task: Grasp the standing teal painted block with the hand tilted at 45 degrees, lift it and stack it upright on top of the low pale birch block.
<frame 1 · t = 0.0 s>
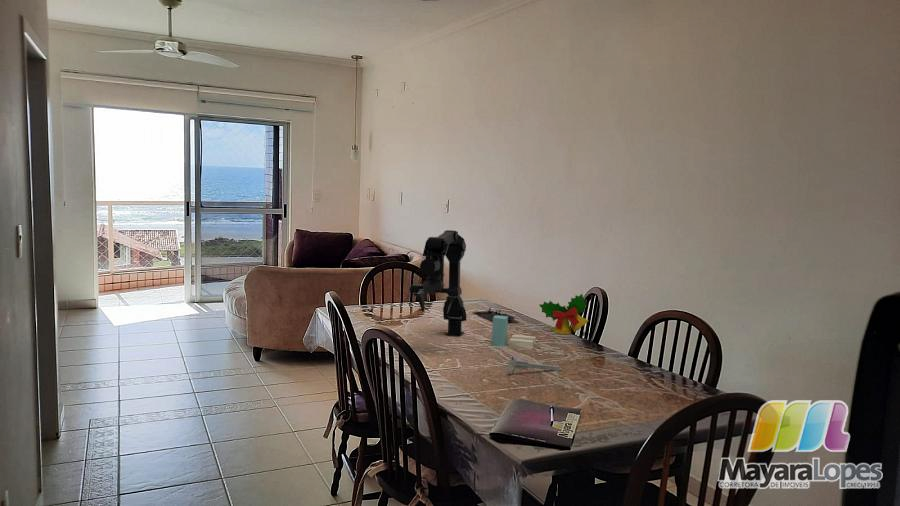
hand: (434, 312, 234), 15 cm above the table, tool pointing down, fingers open, 9 cm apart
birch block: (522, 347, 247), on the table
caliper: (535, 373, 214), on the table
circuit board: (497, 319, 298), on the table
teal block: (499, 344, 249), on the table
ornament: (561, 332, 273), on the table
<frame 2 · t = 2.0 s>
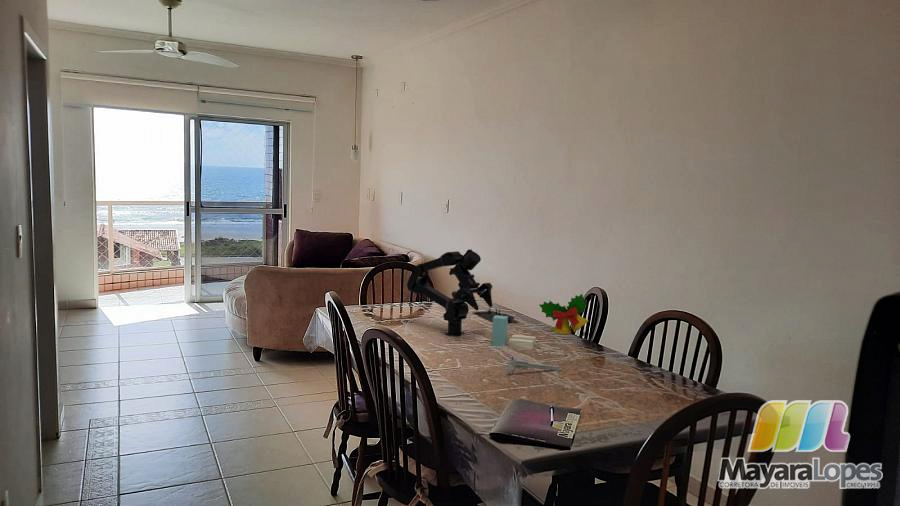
hand: (484, 308, 252), 13 cm above the table, tool tilted 45°, fingers open, 9 cm apart
nothing on the table moved.
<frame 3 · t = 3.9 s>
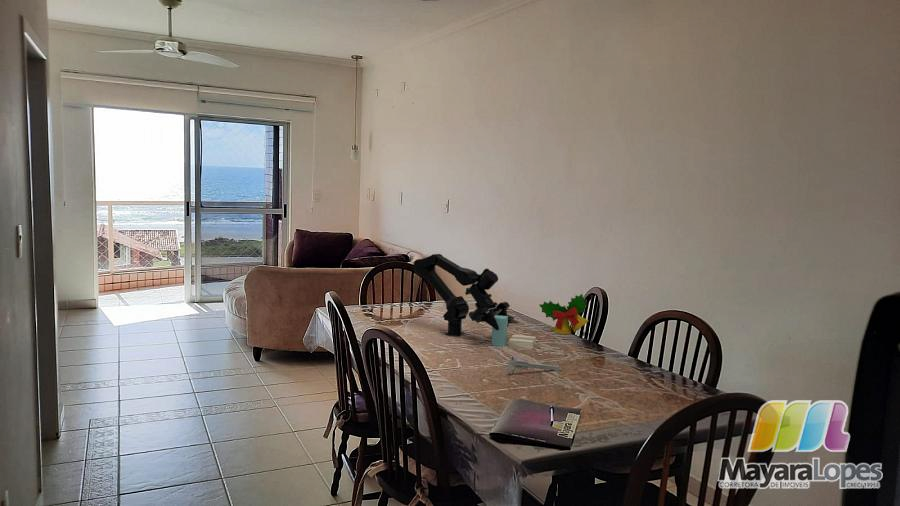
hand: (503, 328, 247), 7 cm above the table, tool tilted 45°, fingers closed on teal block, 6 cm apart
teal block: (499, 344, 249), on the table, touching gripper
everything else where it was.
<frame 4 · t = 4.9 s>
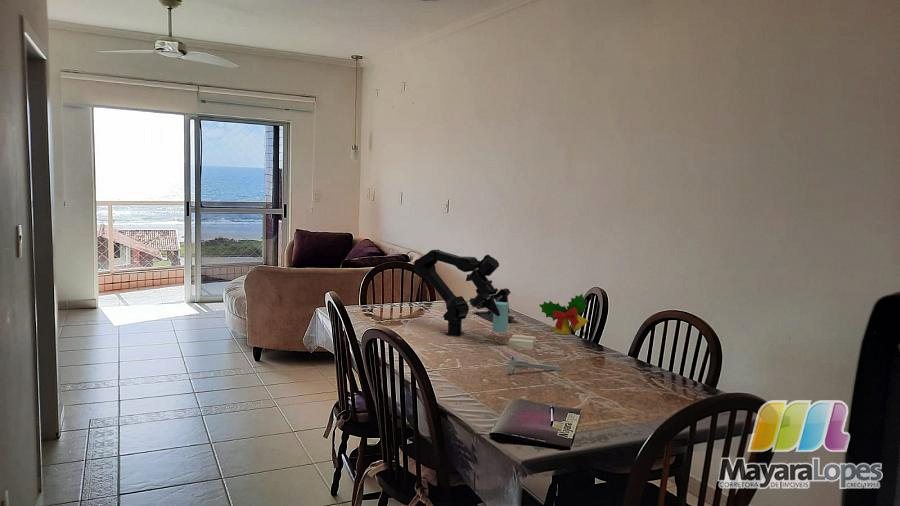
hand: (503, 314, 246), 12 cm above the table, tool tilted 45°, fingers closed on teal block, 6 cm apart
teal block: (500, 330, 248), point 6 cm above the table, touching gripper
everything else where it was.
when the fingers open (11 cm above the table, at t = 7.1 s): teal block drops 1 cm, resting on birch block.
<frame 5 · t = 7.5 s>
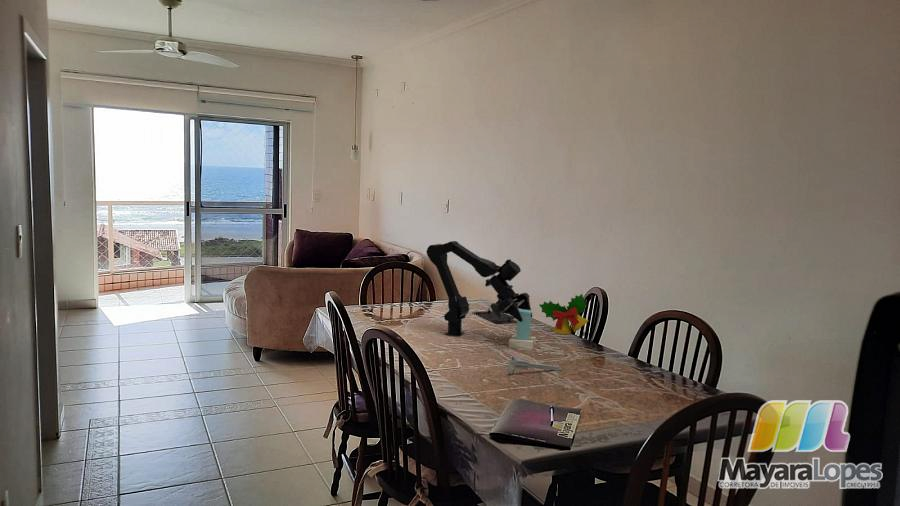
hand: (526, 319, 245), 11 cm above the table, tool tilted 45°, fingers open, 9 cm apart
birch block: (522, 347, 247), on the table, touching teal block
teal block: (522, 338, 247), point 3 cm above the table, touching birch block
everything else where it was.
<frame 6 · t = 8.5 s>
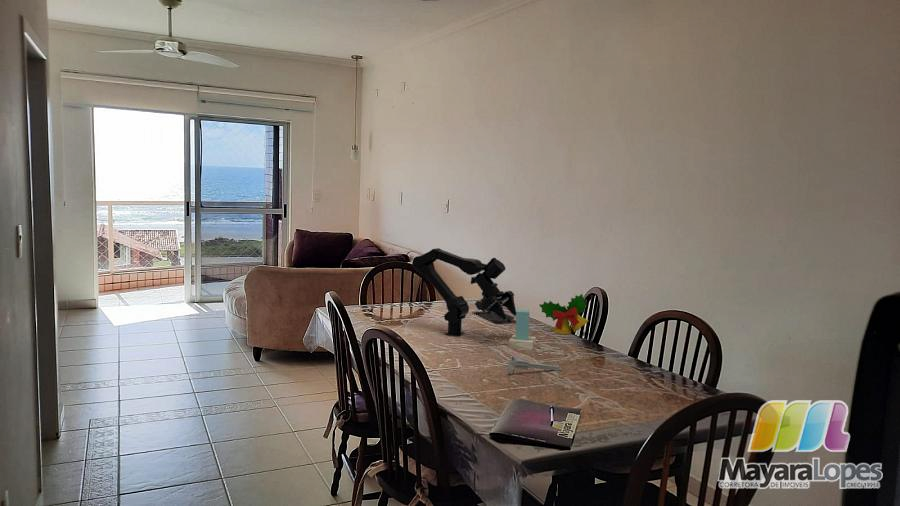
hand: (510, 317, 249), 11 cm above the table, tool tilted 45°, fingers open, 9 cm apart
birch block: (522, 347, 247), on the table
teal block: (522, 338, 247), point 3 cm above the table
everything else where it was.
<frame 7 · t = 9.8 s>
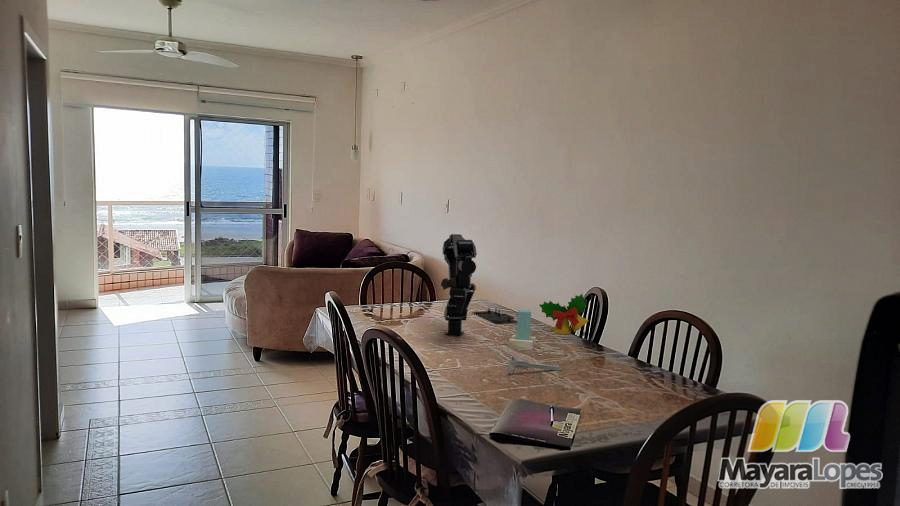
hand: (462, 311, 247), 13 cm above the table, tool pointing down, fingers open, 9 cm apart
birch block: (522, 347, 248), on the table, touching teal block
teal block: (522, 338, 247), point 3 cm above the table, touching birch block
everything else where it was.
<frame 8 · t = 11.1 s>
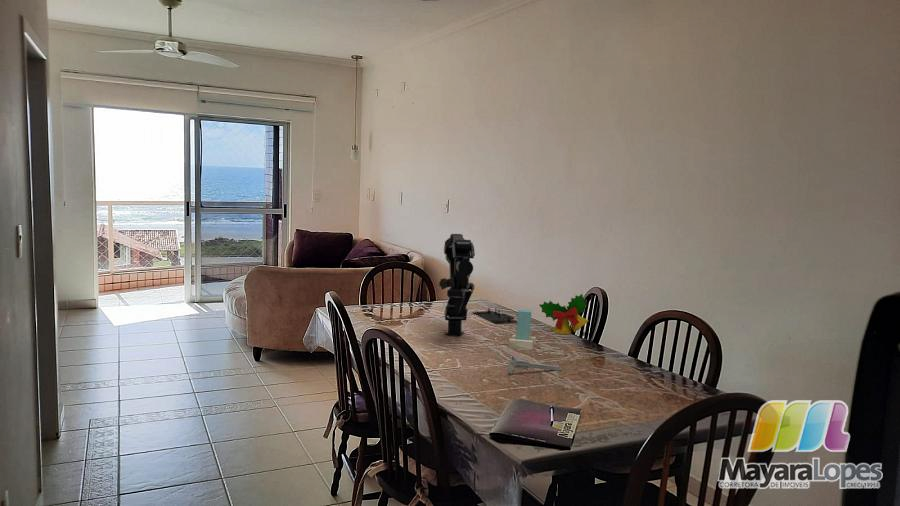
hand: (460, 311, 247), 13 cm above the table, tool pointing down, fingers open, 9 cm apart
birch block: (522, 347, 247), on the table
teal block: (522, 337, 248), point 3 cm above the table
everything else where it was.
at the end: teal block 0.3 cm off-centre on the birch block, point 3.6 cm above the birch block's base; teal block tilted 2°; the gripper is holding nothing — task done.
